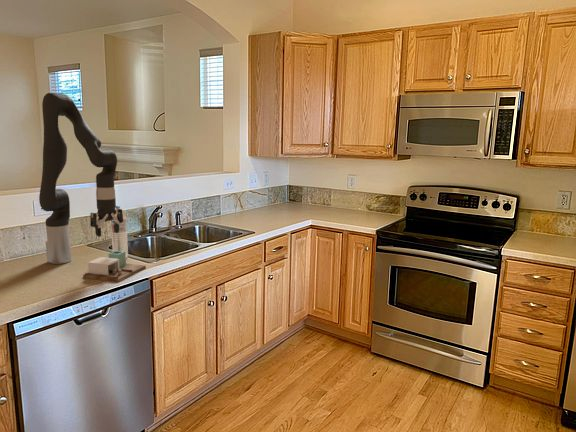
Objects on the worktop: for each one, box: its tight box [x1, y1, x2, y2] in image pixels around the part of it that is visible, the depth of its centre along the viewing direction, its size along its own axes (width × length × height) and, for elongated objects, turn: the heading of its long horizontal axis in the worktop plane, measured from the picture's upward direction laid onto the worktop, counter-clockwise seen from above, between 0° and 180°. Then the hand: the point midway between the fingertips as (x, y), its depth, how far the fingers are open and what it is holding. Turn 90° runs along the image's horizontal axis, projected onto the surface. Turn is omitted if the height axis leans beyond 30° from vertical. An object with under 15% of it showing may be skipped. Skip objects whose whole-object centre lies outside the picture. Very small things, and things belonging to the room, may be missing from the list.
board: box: [82, 262, 147, 283], centre depth 187 cm, size 17×19×6 cm
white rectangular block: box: [87, 256, 120, 276], centre depth 183 cm, size 9×8×5 cm
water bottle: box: [110, 205, 129, 259], centre depth 208 cm, size 7×7×25 cm
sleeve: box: [107, 250, 127, 267], centre depth 193 cm, size 5×5×6 cm
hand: (107, 234), depth 189 cm, fingers open, 8 cm apart
